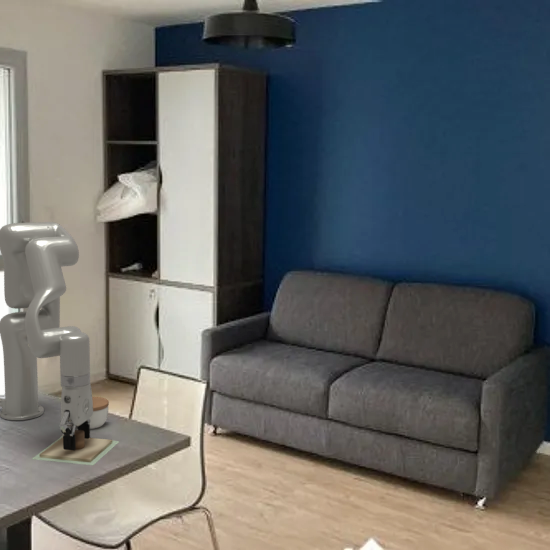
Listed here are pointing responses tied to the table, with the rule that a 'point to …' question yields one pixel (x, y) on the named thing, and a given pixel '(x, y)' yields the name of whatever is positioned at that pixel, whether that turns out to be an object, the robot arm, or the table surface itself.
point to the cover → (77, 448)
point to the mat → (77, 461)
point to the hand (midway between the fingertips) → (76, 443)
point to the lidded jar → (99, 412)
